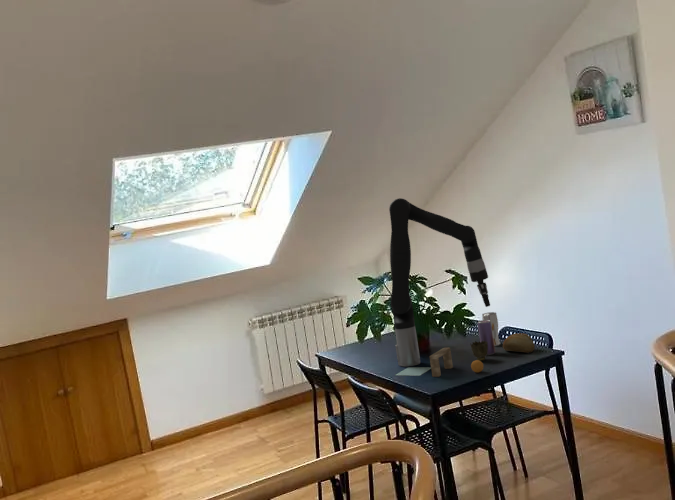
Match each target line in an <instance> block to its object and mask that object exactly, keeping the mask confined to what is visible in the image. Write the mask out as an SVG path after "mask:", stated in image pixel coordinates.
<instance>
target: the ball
mask: <svg viewBox="0 0 675 500" xmlns="http://www.w3.org/2000/svg"><path fill="white" fill-rule="evenodd" d="M470 368H471V370H472V372H475V373H481V372H482V371H483V370H484V363H483V361H479V360H477V359H476V360H473V361H472V362H471V364H470Z"/></svg>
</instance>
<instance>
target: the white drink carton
mask: <svg viewBox="0 0 675 500" xmlns="http://www.w3.org/2000/svg"><path fill="white" fill-rule="evenodd" d="M481 317H482V320H490V322H491V325H492V332H493V339H494V346H495V347H498V346H500V345H501V341H500V339H499V319H498V315H497V312H496V311H495V312H494V311H492V312H491V311H490V312H484V313H482V316H481Z"/></svg>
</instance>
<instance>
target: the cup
mask: <svg viewBox="0 0 675 500" xmlns="http://www.w3.org/2000/svg"><path fill="white" fill-rule="evenodd" d="M469 345H470V348H471V353H472V354H473V356H474V357H475V358H476V360H479V361H481V362H484V361H485V360H486V356H488V355H487V353H488V342H487V341H486V342H485V341H481V343H480V340H478V341H476V340H475V341H474V342H472V343H470V344H469Z"/></svg>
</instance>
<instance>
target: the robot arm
mask: <svg viewBox="0 0 675 500" xmlns="http://www.w3.org/2000/svg"><path fill="white" fill-rule="evenodd" d="M388 209H389V216H390V225H391V235H390V236H391V237H390V247H389V261H390V262H389V264H390V273H391V275H390V276H391V283H392V284H391V296H390V297H391V298H390V308H391V309H392V315H393V325H394V326H393V327H394V331H395V339H396V340H395V341H396V344H395V350H396V357H397V364H398V366H399V367H405V368H408V367H415V366H417V365H420V364H421V357H420V350H419V343H418V335H417V330H416V325H415V316H414V315H415V312H414V308H413V307H414V306H413V301H412V297H411V295H410V287H409V286H410V283H409V281H410V275H411V274H410V273H411V266H412V265H411V263H412V251H411V250H412V249H411V241H410V235H409V221H412V222H416V223H417V224H418V223H419V224H421V225H423V226H425V227H427V228H428V229H432V230H433V231H436V232H437V233H441V234H443V235H446V236H450V237H452V238H455V239H456V240H458V241H461V245H462V249H463V253H464V258H465V262H466V267H467V270H468V273H469V277H470V280H471V282H472V283H477V284H476V287H477V289H478V292H479V295H481V298H482V301H483V304H484V306H485V307H486V308H488V307H490V306H491V302H490V299H489V291H488V285H487V283H486V282H485V281H484V280H487V279H488V278H489V275H488V271H487V267H486V265H485V262H484V258H483V256H482V252H481V250H480V247H479V244H478V240H477V236H476V231H475V229H474V228H473V227H472V226H470V225H464V224H462V223H458V222H456V220H455V221H454V220H453V219H450V218H448V217H445V216H442V215H440V214H438V213H433V212H431V211H427V210H425V209H423V208H420V207H418V206H416V205H415V204H413V203H411V202H409V201H408V200H407V199H405V198H396V199H394V200H392V201H391V203H390V204H389V208H388Z"/></svg>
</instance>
